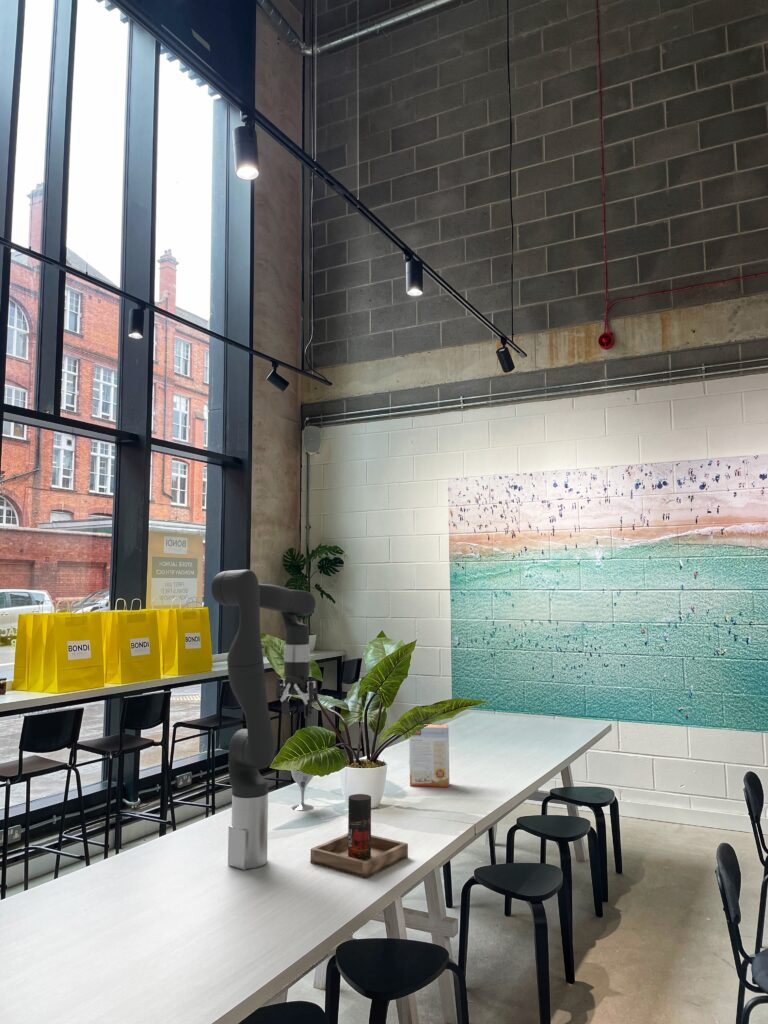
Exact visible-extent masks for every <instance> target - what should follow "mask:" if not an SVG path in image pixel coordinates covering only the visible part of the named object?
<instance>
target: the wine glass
mask: <svg viewBox="0 0 768 1024" xmlns="http://www.w3.org/2000/svg"><path fill="white" fill-rule="evenodd" d="M290 772H291V776H292V779H293V781H294V782H295V783H296V784H297V786H298V787H299V789H300V794H301V796H300V797H301V798H300V799H301V801H300V802H301V803H299V804H294V805H293V806H291V810H294V811H297V812H301V811H302V812H303V811H305V812H306V811H310V810H313V809H314V808H315V807H314V806H313V805H312V804H308V803H307V804H306V803H305V791H306V788H307V786H308V785H309V783H310V782H311V781H312V780H313V779H314V778H313V777H314V775H315V774H314V775H310V774H306V773H303V772H301V771H297V770H291V769H290Z"/></svg>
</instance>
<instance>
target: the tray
mask: <svg viewBox="0 0 768 1024" xmlns="http://www.w3.org/2000/svg"><path fill="white" fill-rule="evenodd" d="M408 847H409V843H407V842H403V841H397V840H395V839H391V838H386V837H382V836H377V835H373V834H371V858H370V859H368V860H364V861H363V860H359V859H355V858H351V857H348V832H347V833H346V834H343V835H341V836H339V837H336V838H333V839H331V840H329V841H326V842H324V843H321V844H319V845H317V846H314V847H312V848H310V864H312V865H316V866H320V867H324V868H327V869H330V870H334V871H337V872H342V873H345V874H348V875H352V876H356V877H359V878H363V879H368V878H370V877H372V876H375V875H377V874H378V873H380V872H382V871H384V870H386V869H388V868H390V867H392V866H394V865H396V864H398V863H400V862H401V861H403V860H405V859H407V858H409V848H408Z"/></svg>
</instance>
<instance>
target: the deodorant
mask: <svg viewBox="0 0 768 1024" xmlns="http://www.w3.org/2000/svg"><path fill="white" fill-rule="evenodd" d="M347 800H348V806H347V807H348V809H347V810H348V815H347V816H348V819H347V820H348V822H347V826H348V827H347V828H348V829H347V833H348V857H351V858H355V859H359V860H363V861H364V860H368V859H370V858H371V835H372V796H371V795H370V794H366V793H365V794H364V793H356V794H351V795H348V799H347Z"/></svg>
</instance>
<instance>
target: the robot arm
mask: <svg viewBox="0 0 768 1024" xmlns="http://www.w3.org/2000/svg"><path fill="white" fill-rule="evenodd" d="M210 585H211V587H210V591H211V595H212V597H213V600H215V602H216V603H217V604H219V605H221V606H225V607H235V606H237V607H238V609H239V624H238V629H237V633H236V634H235V637H234V639H233V641H232V643H231V645H230V648H229V651H228V653H227V657H226V658H227V659H226V662H227V664H226V665H227V674H228V675H227V676H228V680H229V686H230V689H231V691H232V693H233V695H234V696H235V698H236V700H237V702H238V704H239V706H240V708H241V710H242V712H243V714H244V718H245V721H246V728H241V729H239V730H237V731H235V732H234V734H233V735H232V737H231V739H230V742H229V746H228V780H229V784H230V787H231V792H232V793H231V825H229V826H228V833H227V835H228V836H227V840H228V841H227V842H228V845H227V865H228V866H230V867H234V868H237V869H240V870H243V871H244V870H248V869H255V868H259V867H262V866H264V865H266V864H267V863H268V839H269V838H268V831H269V830H268V826H269V825H268V824H269V823H268V822H269V783H268V781H267V780H266V778H265V777H263V775H262V774H261V772H260V771H259V769H260V770H261V769H266V768H268V767H269V766H270V765H271V763H272V762H273V760H274V757H275V754H276V753H275V752H276V742H275V741H276V740H275V736H274V731H273V726H272V721H271V716H270V709H269V702H268V695H267V688H266V687H267V686H266V676H265V674H266V673H265V664H264V663H265V662H264V655H263V648H262V636H261V635H262V634H261V619H260V618H261V609H260V608H262V609H265V610H266V609H267V610H270V611H274V612H279V613H281V618H282V621H283V626H284V631H285V635H284V636H285V637H284V638H285V641H284V653H283V656H284V657H283V675H284V676H285V677H282V678H277V680H276V689H275V691H276V692H275V699H276V700H280V702H281V714H282V715H283V716H287V715H289V714H290V701H289V700H290V698H291V697H292V696H299V698H300V699H301V700H302V702H303V717H304V718H305V719H308V718H311V717H312V714H313V713H312V712H313V710H312V709H313V704H314V703H318V702H319V701H318V699H319V694H318V682H317V681H316V680H314V681H313V680H312V681H309V677H310V674H311V650H310V627H309V625H308V624H305V623H302V622H300V621H299V620H298V617H297V616H309V615H311V614H312V613H313V612H314V611H315V609H316V604H317V602H316V598H315V596H314V595H313V594H312V593H311V592H310V591H307V590H299V589H290V588H287V587H283V586H280V585H275V584H268V583H267V584H266V583H259V580H258V577H257V574H256V573H255V572H254V571H253V570H251V569H233V570H225V571H221V572H219V573H217V574H216V575H215V576H214V577H213V578H212V582H211V584H210Z"/></svg>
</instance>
